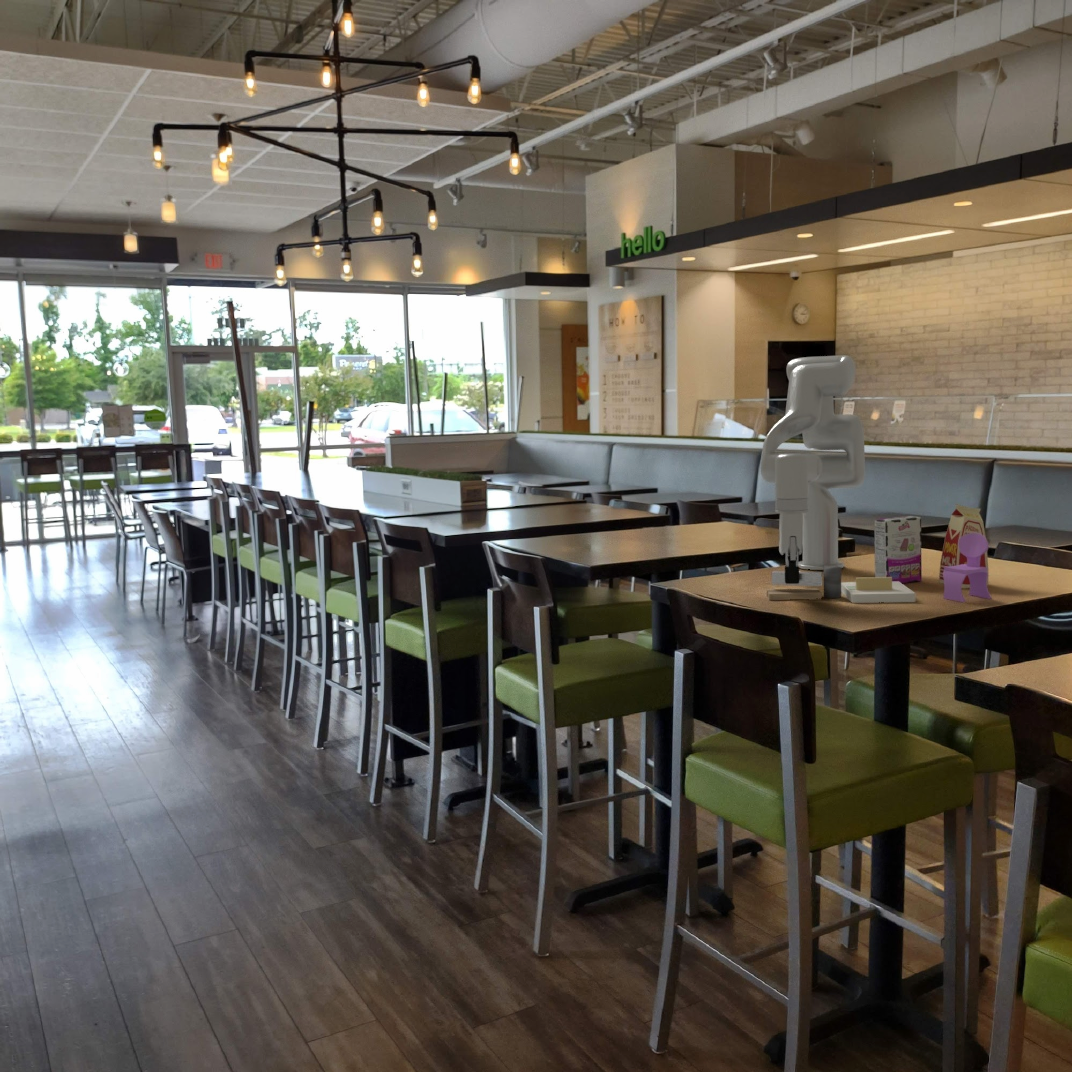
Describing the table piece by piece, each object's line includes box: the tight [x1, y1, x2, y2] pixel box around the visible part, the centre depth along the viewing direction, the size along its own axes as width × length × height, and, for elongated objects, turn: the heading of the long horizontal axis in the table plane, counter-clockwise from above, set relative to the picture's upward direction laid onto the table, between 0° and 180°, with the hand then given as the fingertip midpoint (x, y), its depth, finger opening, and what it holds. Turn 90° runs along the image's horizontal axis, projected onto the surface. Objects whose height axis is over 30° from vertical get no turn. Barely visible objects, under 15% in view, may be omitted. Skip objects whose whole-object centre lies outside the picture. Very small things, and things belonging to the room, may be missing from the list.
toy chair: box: [942, 533, 993, 603], centre depth 230 cm, size 8×9×15 cm
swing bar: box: [771, 570, 823, 587], centre depth 242 cm, size 12×2×3 cm, turn 67°
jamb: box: [766, 566, 842, 601], centre depth 240 cm, size 6×17×7 cm, turn 83°
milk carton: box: [938, 503, 990, 589], centre depth 248 cm, size 9×9×20 cm
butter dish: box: [841, 576, 916, 604], centre depth 238 cm, size 16×14×5 cm
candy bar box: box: [873, 515, 923, 584], centre depth 254 cm, size 11×5×16 cm, turn 112°
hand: (791, 583), depth 240 cm, fingers closed
